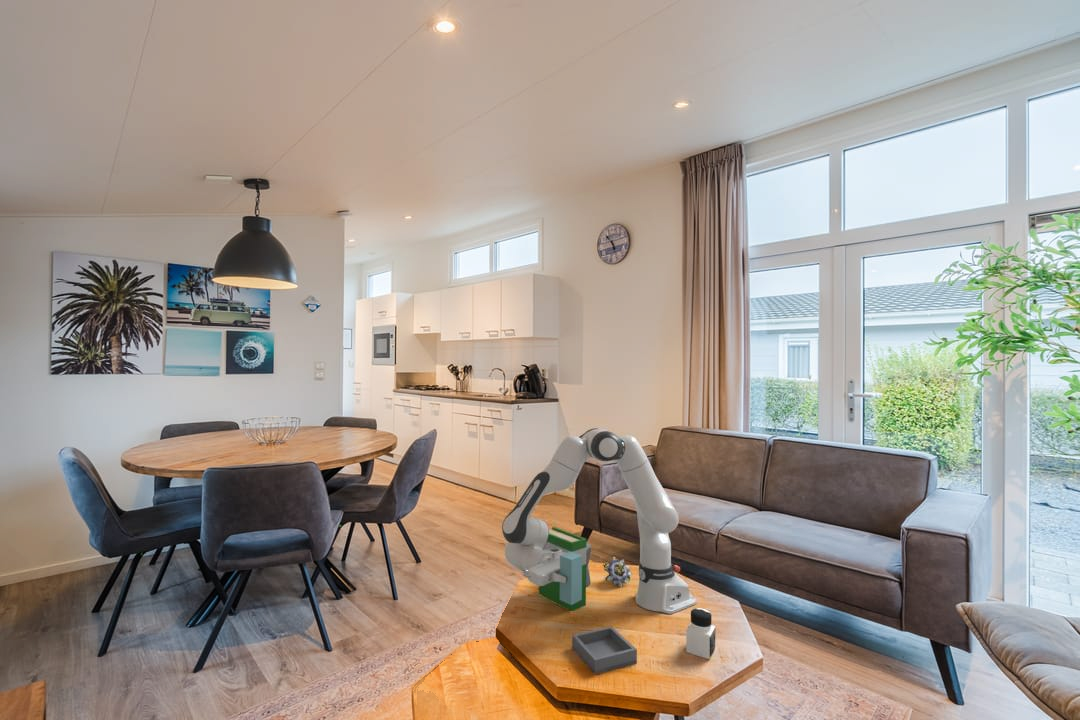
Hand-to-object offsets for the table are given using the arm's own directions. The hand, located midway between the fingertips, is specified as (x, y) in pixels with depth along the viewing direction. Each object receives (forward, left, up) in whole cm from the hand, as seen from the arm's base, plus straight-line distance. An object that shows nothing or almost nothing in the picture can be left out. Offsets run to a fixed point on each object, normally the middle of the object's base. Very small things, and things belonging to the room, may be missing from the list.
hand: (573, 576), depth 156 cm
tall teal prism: (0, -1, -8) cm, 8 cm away
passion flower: (-36, -31, -20) cm, 51 cm away
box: (-5, +11, -20) cm, 23 cm away
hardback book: (-9, -26, -20) cm, 34 cm away
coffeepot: (-22, -37, -20) cm, 47 cm away
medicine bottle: (-34, +20, -20) cm, 44 cm away
